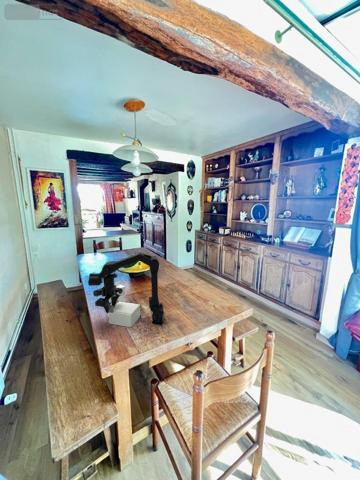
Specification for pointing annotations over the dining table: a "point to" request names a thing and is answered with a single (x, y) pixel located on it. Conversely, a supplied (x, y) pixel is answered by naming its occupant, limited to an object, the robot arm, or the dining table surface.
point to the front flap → (119, 318)
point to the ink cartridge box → (122, 295)
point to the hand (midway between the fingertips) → (110, 310)
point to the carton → (128, 310)
